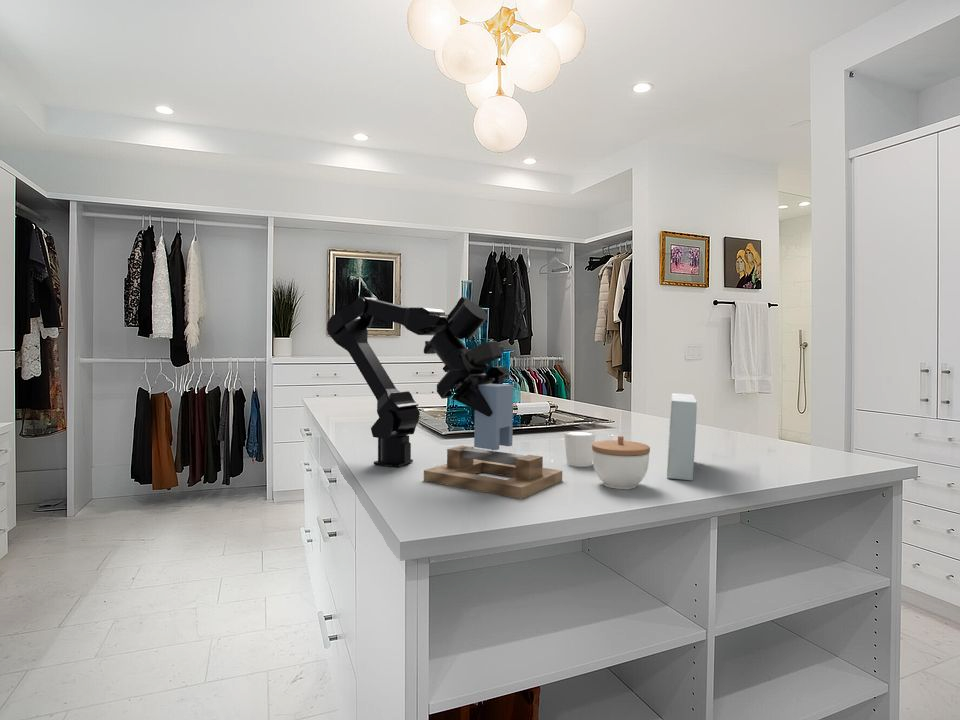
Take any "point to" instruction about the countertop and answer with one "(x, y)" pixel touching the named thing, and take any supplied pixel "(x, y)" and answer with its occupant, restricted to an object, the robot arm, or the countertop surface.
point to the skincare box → (682, 437)
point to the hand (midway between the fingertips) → (499, 413)
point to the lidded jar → (620, 462)
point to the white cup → (579, 448)
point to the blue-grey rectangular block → (495, 417)
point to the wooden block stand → (494, 472)
